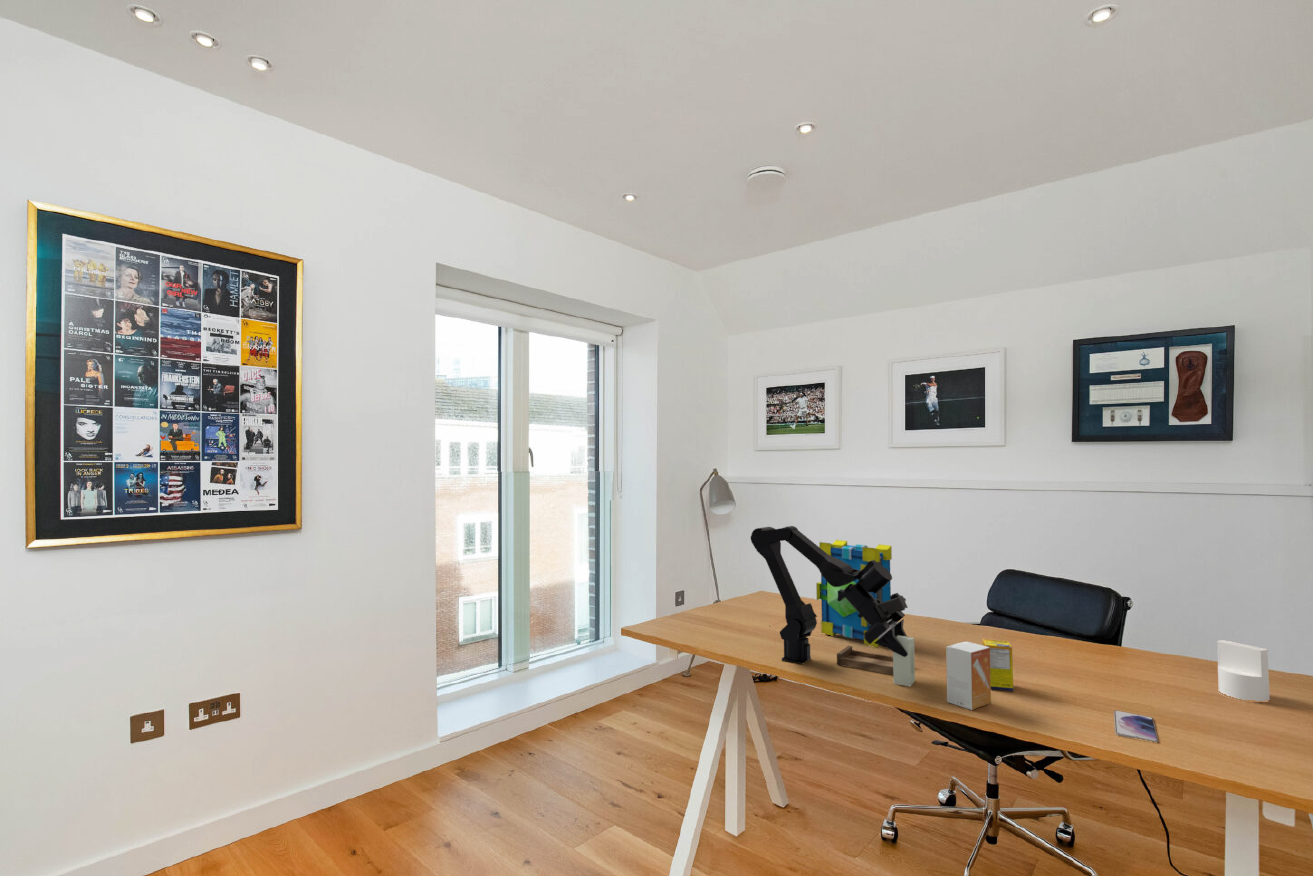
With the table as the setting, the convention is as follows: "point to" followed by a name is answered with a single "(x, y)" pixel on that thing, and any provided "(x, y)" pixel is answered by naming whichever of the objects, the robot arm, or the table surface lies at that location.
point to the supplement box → (1000, 664)
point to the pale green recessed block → (904, 663)
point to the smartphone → (1134, 726)
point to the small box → (968, 675)
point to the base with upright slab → (1243, 671)
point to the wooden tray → (865, 660)
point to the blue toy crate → (842, 613)
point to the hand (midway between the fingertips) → (909, 653)
